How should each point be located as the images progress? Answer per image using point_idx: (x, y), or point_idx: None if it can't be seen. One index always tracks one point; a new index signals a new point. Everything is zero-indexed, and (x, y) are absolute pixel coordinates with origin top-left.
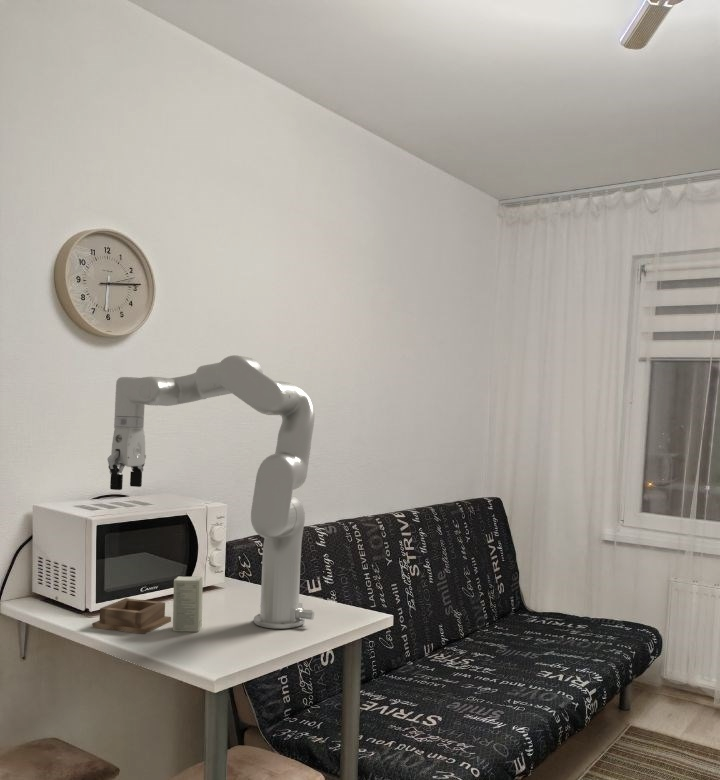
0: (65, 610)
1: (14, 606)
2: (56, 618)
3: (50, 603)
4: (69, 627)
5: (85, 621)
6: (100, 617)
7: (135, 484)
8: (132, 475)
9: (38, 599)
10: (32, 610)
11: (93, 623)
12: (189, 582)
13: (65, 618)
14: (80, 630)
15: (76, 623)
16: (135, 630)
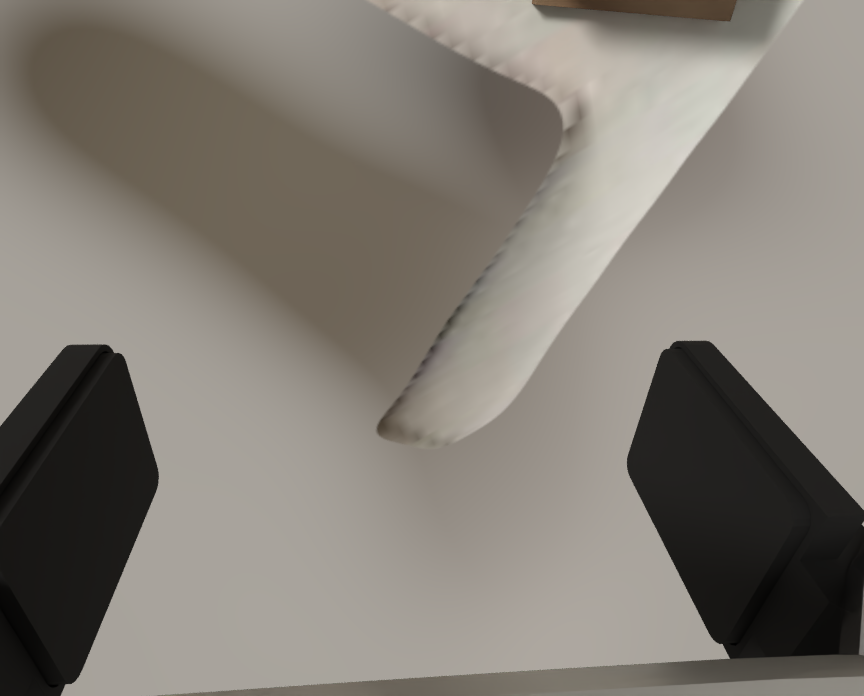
0: (512, 244)
1: (505, 394)
2: (614, 213)
3: (443, 333)
4: (721, 106)
5: (639, 96)
6: None
7: (131, 429)
8: (89, 601)
9: (410, 387)
10: (536, 330)
11: (730, 16)
12: None
13: (610, 186)
14: (759, 44)
15: (668, 112)
16: None
